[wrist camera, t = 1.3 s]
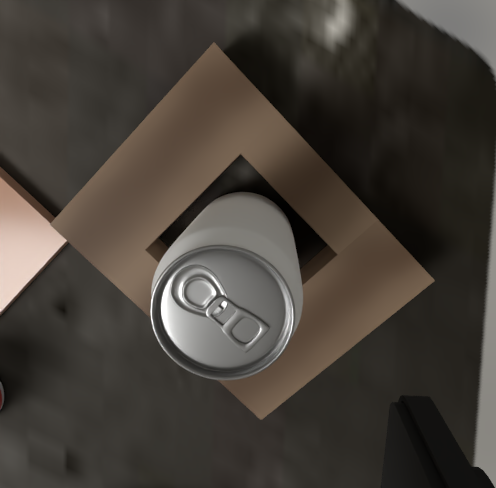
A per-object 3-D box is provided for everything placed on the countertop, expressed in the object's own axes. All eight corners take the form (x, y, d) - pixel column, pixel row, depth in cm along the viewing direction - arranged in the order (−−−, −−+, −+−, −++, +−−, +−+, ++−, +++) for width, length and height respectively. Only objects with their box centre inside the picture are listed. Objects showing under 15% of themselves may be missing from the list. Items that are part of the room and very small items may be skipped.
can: (237, 169, 27) (209, 197, 15) (314, 235, 28) (343, 309, 16) (175, 244, 28) (106, 322, 17) (249, 304, 29) (232, 419, 17)
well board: (418, 265, 28) (434, 280, 25) (262, 392, 31) (261, 420, 28) (220, 52, 25) (213, 42, 22) (72, 215, 28) (49, 224, 25)
